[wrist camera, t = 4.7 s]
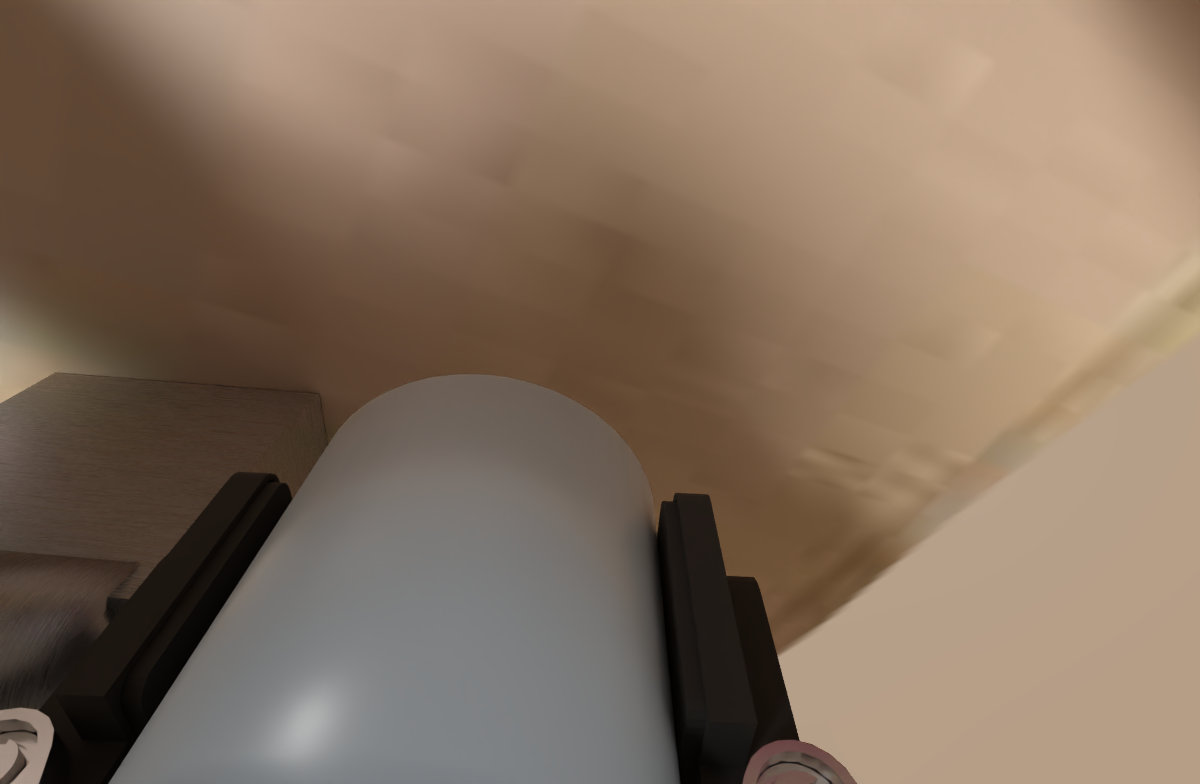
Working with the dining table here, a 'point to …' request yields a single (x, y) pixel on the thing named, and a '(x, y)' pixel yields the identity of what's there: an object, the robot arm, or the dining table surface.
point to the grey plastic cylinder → (439, 611)
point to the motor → (117, 499)
